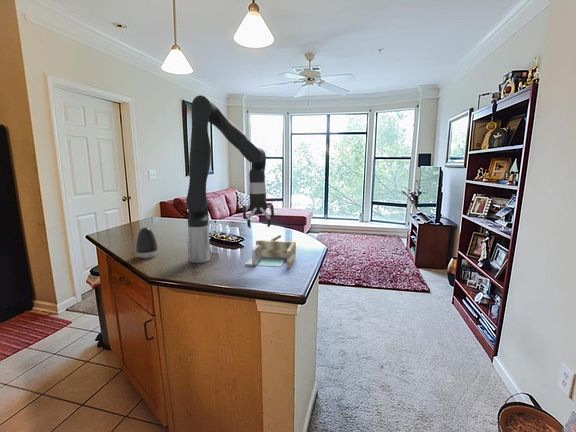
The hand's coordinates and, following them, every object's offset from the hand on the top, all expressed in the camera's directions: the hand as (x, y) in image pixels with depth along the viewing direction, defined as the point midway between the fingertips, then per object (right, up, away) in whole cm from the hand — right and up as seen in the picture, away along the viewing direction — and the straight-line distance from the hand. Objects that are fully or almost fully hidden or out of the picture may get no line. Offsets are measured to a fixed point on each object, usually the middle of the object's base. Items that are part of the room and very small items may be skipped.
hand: (259, 227), depth 134 cm
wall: (+2, -14, +23) cm, 27 cm away
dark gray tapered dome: (-57, -16, +12) cm, 61 cm away
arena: (+6, -16, +3) cm, 18 cm away
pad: (+6, -17, +1) cm, 18 cm away
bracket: (-3, -17, +1) cm, 17 cm away
